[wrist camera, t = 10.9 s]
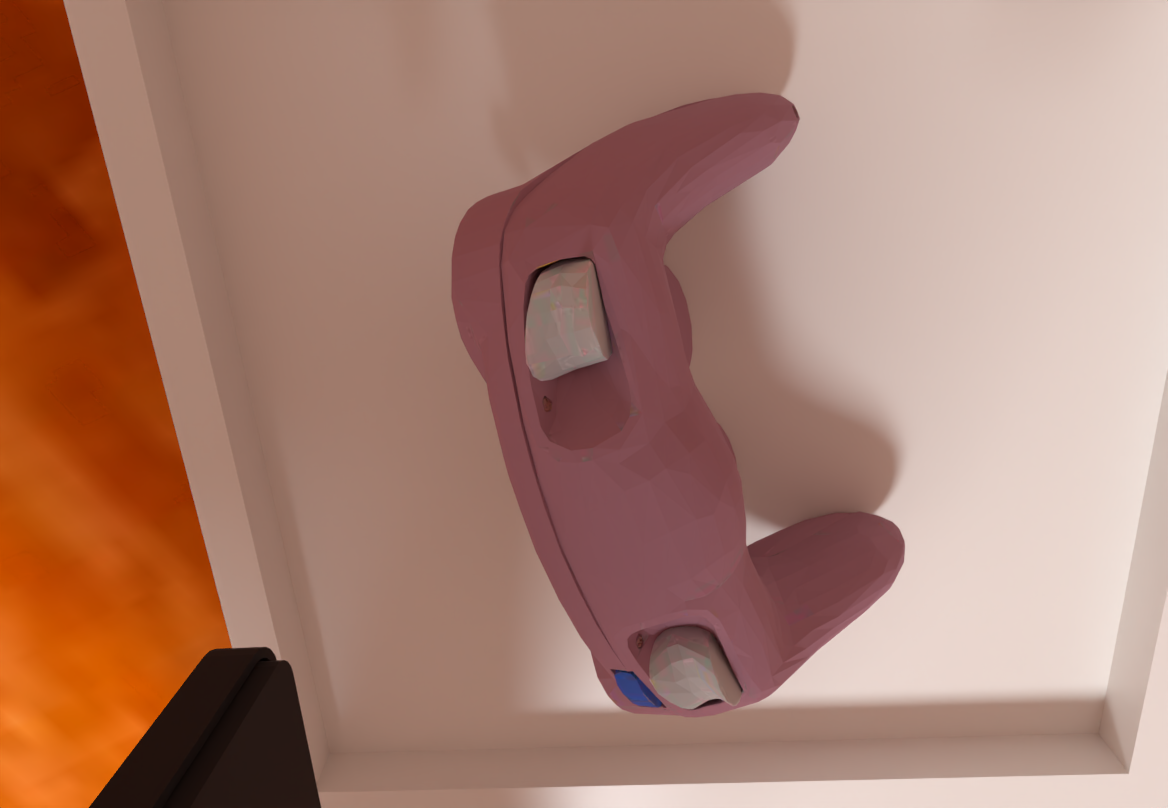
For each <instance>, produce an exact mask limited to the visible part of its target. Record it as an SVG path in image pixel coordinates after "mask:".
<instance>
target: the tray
mask: <svg viewBox="0 0 1168 808" xmlns="http://www.w3.org/2000/svg"><path fill="white" fill-rule="evenodd" d="M63 1H64V5H65V9H66V13H67V17H68V21H69V24H70V28H71V32H72V36H73V40H74V44H75V47H76V51H77V55H78V59H79V63H80V66H81V70H82V74H83V78H84V82H85V86H86V89H87V93H88V97H89V101H90V105H91V109H92V112H93V116H94V120H95V124H96V128H97V132H98V135H99V139H100V143H101V147H102V151H103V155H104V158H105V162H106V166H107V170H108V174H109V178H110V181H111V185H112V189H113V193H114V197H115V201H116V204H117V208H118V212H119V216H120V220H121V224H122V227H123V231H124V235H125V239H126V243H127V247H128V250H129V254H130V258H131V262H132V266H133V270H134V273H135V277H136V281H137V285H138V289H139V293H140V296H141V300H142V304H143V308H144V312H145V316H146V319H147V323H148V327H149V331H150V335H151V339H152V342H153V346H154V350H155V354H156V358H157V362H158V365H159V369H160V373H161V377H162V381H163V385H164V388H165V392H166V396H167V400H168V404H169V408H170V411H171V415H172V419H173V423H174V427H175V430H176V434H177V438H178V442H179V446H180V450H181V453H182V457H183V461H184V465H185V469H186V473H187V476H188V480H189V484H190V488H191V492H192V496H193V499H194V503H195V507H196V511H197V515H198V519H199V522H200V526H201V530H202V534H203V538H204V542H205V545H206V549H207V553H208V557H209V561H210V565H211V568H212V572H213V576H214V580H215V584H216V588H217V591H218V595H219V599H220V603H221V607H222V611H223V614H224V618H225V622H226V626H227V630H228V634H229V637H230V641H231V645H232V648H248V647H268V648H270V649H271V650H272V651H273V653H274V654H275V656H276V659H277V660H285V661H288V662H289V664H290V665H291V667H292V670H293V674H294V679H295V684H296V688H297V693H298V698H299V703H300V708H301V712H302V717H303V722H304V727H305V732H306V737H307V741H308V746H309V751H310V756H311V761H312V766H313V770H314V775H315V780H316V785H317V790H318V794H319V799H320V804H321V808H1168V0H63ZM759 92H761V93H768V94H775V95H781V96H782V97H784V98H786V99H787V100H789V101H790V102H792V103H793V104H794V105H795V107H796V110H797V112H798V115H799V117H800V120H799V123H798V126H797V129H796V131H795V133H794V135H793V137H792V139H791V141H790V143H789V144H788V145H787V146H786V148H785V149H784V150H783V151H782V152H781V154H780V155H779V156H778V157H777V158H776V160H775V161H774V162H773V163H772V164H771V165H770V166H768V167H767V168H765V169H764V170H762V171H761V172H759V173H758V174H756V175H754V176H753V177H751V178H750V179H748V180H747V181H745V182H743V183H742V184H740V185H739V186H737V187H736V188H734V189H732V190H731V191H729V192H728V193H726V194H725V195H723V196H721V197H720V198H718V199H717V200H715V201H714V202H712V203H710V204H709V205H707V206H706V207H704V208H703V209H702V210H701V211H700V212H699V213H698V214H696V215H695V216H694V217H693V218H692V219H691V220H690V221H688V222H687V223H686V224H685V225H684V226H683V227H682V228H680V229H679V230H678V231H677V232H676V233H675V234H674V235H673V237H672V238H671V239H670V241H669V242H668V244H667V245H666V249H665V254H664V258H663V261H664V265H666V266H668V268H669V269H670V270H671V271H672V273H673V274H674V275H675V277H676V278H677V279H678V281H679V283H680V285H681V288H682V291H683V293H684V296H685V298H686V301H687V306H688V310H689V315H690V320H691V325H692V346H693V350H692V358H691V363H690V367H689V368H690V371H691V374H692V377H693V380H694V383H695V385H696V387H697V388H698V390H699V392H700V394H701V395H702V397H703V399H704V400H705V402H706V404H707V406H708V407H709V409H710V411H711V412H712V414H713V416H714V418H715V420H716V422H717V423H719V424H720V425H721V427H722V428H723V430H724V432H725V433H726V435H727V436H728V438H729V440H730V443H731V446H732V449H733V451H734V454H735V457H736V463H737V469H738V472H739V475H740V478H741V482H742V491H743V499H744V507H745V515H746V545H747V546H749V545H750V544H752V543H754V542H756V541H758V540H760V539H762V538H765V537H767V536H769V535H771V534H773V533H775V532H778V531H780V530H782V529H785V528H787V527H789V526H792V525H794V524H796V523H799V522H801V521H803V520H807V519H811V518H815V517H819V516H823V515H828V514H832V513H854V512H864V513H869V514H874V515H878V516H881V517H883V518H885V519H887V520H890V521H892V522H893V523H894V524H895V525H896V526H897V527H898V528H899V529H900V532H901V534H902V536H903V539H904V541H905V555H904V563H903V565H902V567H901V569H900V571H899V573H898V575H897V577H896V579H895V581H894V583H893V584H892V586H891V588H890V589H889V590H888V591H887V592H886V593H885V594H884V595H883V596H882V597H880V598H879V599H878V600H877V601H876V602H875V603H874V604H873V605H872V606H871V607H870V608H869V609H868V610H867V611H865V612H864V613H863V614H862V615H861V616H859V617H858V618H857V619H856V620H854V621H853V622H852V623H851V624H850V625H848V626H847V627H846V628H845V629H843V630H842V631H841V632H840V633H839V634H837V635H836V636H835V637H834V638H832V639H831V640H830V641H829V642H828V643H826V644H825V645H824V646H823V647H821V648H820V649H819V650H818V651H817V652H816V653H815V654H814V655H812V656H811V657H810V658H809V659H808V660H807V661H806V662H805V663H804V664H803V665H802V666H801V667H800V668H799V669H798V670H797V671H796V672H795V673H794V674H793V675H792V676H791V677H790V678H788V679H787V680H786V681H785V682H784V683H783V684H782V685H781V686H780V687H779V688H778V689H777V690H776V691H775V692H774V693H772V694H771V695H770V696H768V697H766V698H765V699H763V700H761V701H759V702H757V703H754V704H750V705H747V706H743V707H740V708H737V709H733V710H730V711H727V712H723V713H720V714H717V715H712V716H704V717H695V718H694V717H683V716H677V715H655V714H634V713H631V712H628V711H625V710H622V709H621V708H620V707H618V706H617V705H616V704H615V703H614V702H613V701H612V700H611V699H610V698H609V697H608V695H607V694H606V692H605V690H604V688H603V686H602V685H601V683H600V681H599V679H598V677H597V674H596V670H595V667H594V663H593V659H592V655H591V651H590V650H589V648H588V647H587V645H586V644H585V643H584V641H583V640H582V638H581V637H580V635H579V633H578V632H577V630H576V628H575V627H574V625H573V623H572V621H571V620H570V618H569V616H568V615H567V613H566V611H565V609H564V608H563V606H562V604H561V602H560V601H559V599H558V597H557V595H556V593H555V590H554V588H553V586H552V584H551V582H550V580H549V578H548V576H547V574H546V572H545V570H544V568H543V566H542V563H541V561H540V559H539V557H538V555H537V553H536V551H535V548H534V546H533V543H532V540H531V538H530V535H529V532H528V529H527V527H526V524H525V521H524V519H523V516H522V513H521V510H520V508H519V505H518V502H517V499H516V496H515V493H514V490H513V487H512V484H511V482H510V479H509V476H508V472H507V469H506V465H505V461H504V458H503V454H502V450H501V446H500V442H499V438H498V433H497V429H496V425H495V421H494V417H493V413H492V409H491V405H490V401H489V395H488V389H487V383H486V382H485V380H484V379H483V377H482V375H481V374H480V372H479V371H478V369H477V367H476V366H475V364H474V363H473V361H472V359H471V358H470V356H469V354H468V352H467V350H466V348H465V345H464V343H463V341H462V339H461V336H460V333H459V329H458V326H457V322H456V318H455V313H454V308H453V303H452V298H451V283H452V252H453V246H454V240H455V236H456V233H457V230H458V227H459V224H460V222H461V220H462V219H463V217H464V215H465V214H466V212H467V210H468V209H469V208H470V207H471V206H473V205H474V204H475V203H476V202H478V201H480V200H481V199H483V198H485V197H487V196H490V195H493V194H496V193H499V192H502V191H505V190H508V189H511V188H514V187H517V186H520V185H523V184H524V183H526V182H528V181H530V180H531V179H533V178H535V177H536V176H538V175H540V174H541V173H543V172H545V171H546V170H548V169H550V168H551V167H553V166H555V165H557V164H558V163H560V162H562V161H563V160H565V159H567V158H568V157H570V156H572V155H573V154H575V153H577V152H579V151H580V150H582V149H584V148H585V147H587V146H589V145H590V144H592V143H593V142H595V141H597V140H599V139H601V138H603V137H605V136H607V135H609V134H611V133H613V132H615V131H616V130H618V129H620V128H622V127H624V126H626V125H628V124H631V123H633V122H636V121H640V120H643V119H646V118H650V117H653V116H656V115H658V114H661V113H664V112H666V111H669V110H672V109H674V108H677V107H680V106H682V105H686V104H690V103H694V102H698V101H703V100H707V99H713V98H719V97H724V96H729V95H734V94H745V93H759Z"/></svg>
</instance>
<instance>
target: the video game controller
mask: <svg viewBox="0 0 1168 808" xmlns="http://www.w3.org/2000/svg"><path fill="white" fill-rule="evenodd" d="M799 120H800V117H799V115H798V112H797V110H796V107H795V105H794V104H793V103H792V102H790V101H789V100H787V99H786V98H784V97H782V96H781V95H775V94H768V93H761V92H759V93H745V94H734V95H729V96H724V97H719V98H713V99H707V100H703V101H698V102H694V103H690V104H686V105H682V106H680V107H677V108H674V109H672V110H669V111H666V112H664V113H661V114H658V115H656V116H653V117H650V118H646V119H643V120H640V121H636V122H633V123H631V124H628V125H626V126H624V127H622V128H620V129H618V130H616V131H615V132H613V133H611V134H609V135H607V136H605V137H603V138H601V139H599V140H597V141H595V142H593V143H592V144H590V145H589V146H587V147H585V148H584V149H582V150H580V151H579V152H577V153H575V154H573V155H572V156H570V157H568V158H567V159H565V160H563V161H562V162H560V163H558V164H557V165H555V166H553V167H551V168H550V169H548V170H546V171H545V172H543V173H541V174H540V175H538V176H536V177H535V178H533V179H531V180H530V181H528V182H526V183H524V184H523V185H520V186H517V187H514V188H511V189H508V190H505V191H502V192H499V193H496V194H493V195H490V196H487V197H485V198H483V199H481V200H480V201H478V202H476V203H475V204H474V205H473V206H471V207H470V208H469V209H468V210H467V212H466V214H465V215H464V217H463V219H462V220H461V222H460V224H459V227H458V230H457V233H456V236H455V240H454V246H453V252H452V283H451V298H452V303H453V308H454V313H455V318H456V322H457V326H458V329H459V333H460V336H461V339H462V341H463V343H464V345H465V348H466V350H467V352H468V354H469V356H470V358H471V359H472V361H473V363H474V364H475V366H476V367H477V369H478V371H479V372H480V374H481V375H482V377H483V379H484V380H485V382H486V383H487V389H488V395H489V401H490V405H491V409H492V413H493V417H494V421H495V425H496V429H497V433H498V438H499V442H500V446H501V450H502V454H503V458H504V461H505V465H506V469H507V472H508V476H509V479H510V482H511V484H512V487H513V490H514V493H515V496H516V499H517V502H518V505H519V508H520V510H521V513H522V516H523V519H524V521H525V524H526V527H527V529H528V532H529V535H530V538H531V540H532V543H533V546H534V548H535V551H536V553H537V555H538V557H539V559H540V561H541V563H542V566H543V568H544V570H545V572H546V574H547V576H548V578H549V580H550V582H551V584H552V586H553V588H554V590H555V593H556V595H557V597H558V599H559V601H560V602H561V604H562V606H563V608H564V609H565V611H566V613H567V615H568V616H569V618H570V620H571V621H572V623H573V625H574V627H575V628H576V630H577V632H578V633H579V635H580V637H581V638H582V640H583V641H584V643H585V644H586V645H587V647H588V648H589V650H590V651H591V655H592V659H593V663H594V667H595V670H596V674H597V677H598V679H599V681H600V683H601V685H602V686H603V688H604V690H605V692H606V694H607V695H608V697H609V698H610V699H611V700H612V701H613V702H614V703H615V704H616V705H617V706H618V707H620V708H621V709H622V710H625V711H628V712H631V713H634V714H655V715H677V716H683V717H694V718H695V717H704V716H712V715H717V714H720V713H723V712H727V711H730V710H733V709H737V708H740V707H743V706H747V705H750V704H754V703H757V702H759V701H761V700H763V699H765V698H766V697H768V696H770V695H771V694H772V693H774V692H775V691H776V690H777V689H778V688H779V687H780V686H781V685H782V684H783V683H784V682H785V681H786V680H787V679H788V678H790V677H791V676H792V675H793V674H794V673H795V672H796V671H797V670H798V669H799V668H800V667H801V666H802V665H803V664H804V663H805V662H806V661H807V660H808V659H809V658H810V657H811V656H812V655H814V654H815V653H816V652H817V651H818V650H819V649H820V648H821V647H823V646H824V645H825V644H826V643H828V642H829V641H830V640H831V639H832V638H834V637H835V636H836V635H837V634H839V633H840V632H841V631H842V630H843V629H845V628H846V627H847V626H848V625H850V624H851V623H852V622H853V621H854V620H856V619H857V618H858V617H859V616H861V615H862V614H863V613H864V612H865V611H867V610H868V609H869V608H870V607H871V606H872V605H873V604H874V603H875V602H876V601H877V600H878V599H879V598H880V597H882V596H883V595H884V594H885V593H886V592H887V591H888V590H889V589H890V588H891V586H892V584H893V583H894V581H895V579H896V577H897V575H898V573H899V571H900V569H901V567H902V565H903V563H904V555H905V541H904V539H903V536H902V534H901V532H900V529H899V528H898V527H897V526H896V525H895V524H894V523H893V522H892V521H890V520H887V519H885V518H883V517H881V516H878V515H874V514H869V513H864V512H854V513H832V514H828V515H823V516H819V517H815V518H811V519H807V520H803V521H801V522H799V523H796V524H794V525H792V526H789V527H787V528H785V529H782V530H780V531H778V532H775V533H773V534H771V535H769V536H767V537H765V538H762V539H760V540H758V541H756V542H754V543H752V544H750V545H749V546H747V545H746V515H745V507H744V499H743V491H742V482H741V478H740V475H739V472H738V469H737V463H736V457H735V454H734V451H733V449H732V446H731V443H730V440H729V438H728V436H727V435H726V433H725V432H724V430H723V428H722V427H721V425H720V424H719V423H717V422H716V420H715V418H714V416H713V414H712V412H711V411H710V409H709V407H708V406H707V404H706V402H705V400H704V399H703V397H702V395H701V394H700V392H699V390H698V388H697V387H696V385H695V383H694V380H693V377H692V374H691V371H690V368H689V367H690V363H691V358H692V350H693V346H692V325H691V320H690V315H689V310H688V306H687V301H686V298H685V296H684V293H683V291H682V288H681V285H680V283H679V281H678V279H677V278H676V277H675V275H674V274H673V273H672V271H671V270H670V269H669V268H668V266H666V265H664V261H663V258H664V254H665V249H666V245H667V244H668V242H669V241H670V239H671V238H672V237H673V235H674V234H675V233H676V232H677V231H678V230H679V229H680V228H682V227H683V226H684V225H685V224H686V223H687V222H688V221H690V220H691V219H692V218H693V217H694V216H695V215H696V214H698V213H699V212H700V211H701V210H702V209H703V208H704V207H706V206H707V205H709V204H710V203H712V202H714V201H715V200H717V199H718V198H720V197H721V196H723V195H725V194H726V193H728V192H729V191H731V190H732V189H734V188H736V187H737V186H739V185H740V184H742V183H743V182H745V181H747V180H748V179H750V178H751V177H753V176H754V175H756V174H758V173H759V172H761V171H762V170H764V169H765V168H767V167H768V166H770V165H771V164H772V163H773V162H774V161H775V160H776V158H777V157H778V156H779V155H780V154H781V152H782V151H783V150H784V149H785V148H786V146H787V145H788V144H789V143H790V141H791V139H792V137H793V135H794V133H795V131H796V129H797V126H798V123H799Z"/></svg>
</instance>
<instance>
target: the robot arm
mask: <svg viewBox="0 0 1168 808" xmlns="http://www.w3.org/2000/svg"><path fill="white" fill-rule="evenodd" d="M89 808H321V804H320V799H319V794H318V790H317V785H316V780H315V775H314V770H313V766H312V761H311V756H310V751H309V746H308V741H307V737H306V732H305V727H304V722H303V717H302V712H301V708H300V703H299V698H298V693H297V688H296V684H295V679H294V674H293V670H292V667H291V665H290V664H289V662H288V661H285V660H277V659H276V656H275V654H274V653H273V651H272V650H271V649H270V648H268V647H248V648H225V649H214V650H211V651H209V652H208V653H207V654H206V655H205V656H204V657H203V659H202V660H201V661H200V663H199V664H198V665H197V666H196V668H195V669H194V670H193V672H192V673H191V674H190V676H189V677H188V678H187V680H186V681H185V682H184V684H183V685H182V686H181V687H180V689H179V690H178V691H177V693H176V694H175V695H174V697H173V698H172V699H171V701H170V702H169V703H168V705H167V706H166V707H165V708H164V710H163V711H162V712H161V714H160V715H159V716H158V718H157V719H156V720H155V722H154V723H153V724H152V726H151V727H150V728H149V729H148V731H147V732H146V733H145V735H144V736H143V737H142V739H141V740H140V741H139V743H138V744H137V745H136V747H135V748H134V749H133V750H132V752H131V753H130V754H129V756H128V757H127V758H126V760H125V761H124V762H123V764H122V765H121V766H120V768H119V769H118V770H117V771H116V773H115V774H114V775H113V777H112V778H111V779H110V781H109V782H108V783H107V785H106V786H105V787H104V789H103V790H102V791H101V792H100V794H99V795H98V796H97V798H96V799H95V800H94V802H93V803H92V804H91V806H90V807H89Z"/></svg>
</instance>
